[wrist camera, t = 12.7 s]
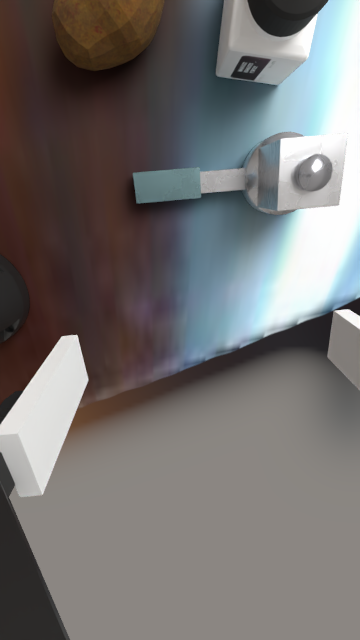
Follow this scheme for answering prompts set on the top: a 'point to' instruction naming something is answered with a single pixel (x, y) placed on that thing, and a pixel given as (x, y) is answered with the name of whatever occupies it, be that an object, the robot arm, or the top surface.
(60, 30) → the potato
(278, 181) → the cube with chrome knob
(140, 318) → the top surface
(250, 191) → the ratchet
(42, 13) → the top surface
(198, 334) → the top surface
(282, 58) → the container
